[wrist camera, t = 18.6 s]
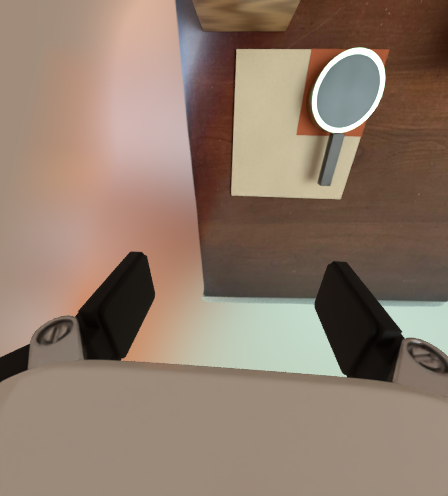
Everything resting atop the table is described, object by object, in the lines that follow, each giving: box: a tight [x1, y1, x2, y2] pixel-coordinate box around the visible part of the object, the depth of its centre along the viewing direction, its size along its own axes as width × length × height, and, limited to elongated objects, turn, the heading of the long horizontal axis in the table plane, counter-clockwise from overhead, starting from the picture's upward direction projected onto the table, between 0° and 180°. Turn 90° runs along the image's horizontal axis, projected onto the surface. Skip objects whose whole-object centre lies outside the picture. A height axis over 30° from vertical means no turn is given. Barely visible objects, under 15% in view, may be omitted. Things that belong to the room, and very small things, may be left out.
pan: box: [306, 47, 385, 186], centre depth 32 cm, size 18×10×4 cm, turn 179°
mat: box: [231, 49, 390, 199], centre depth 35 cm, size 22×22×1 cm
